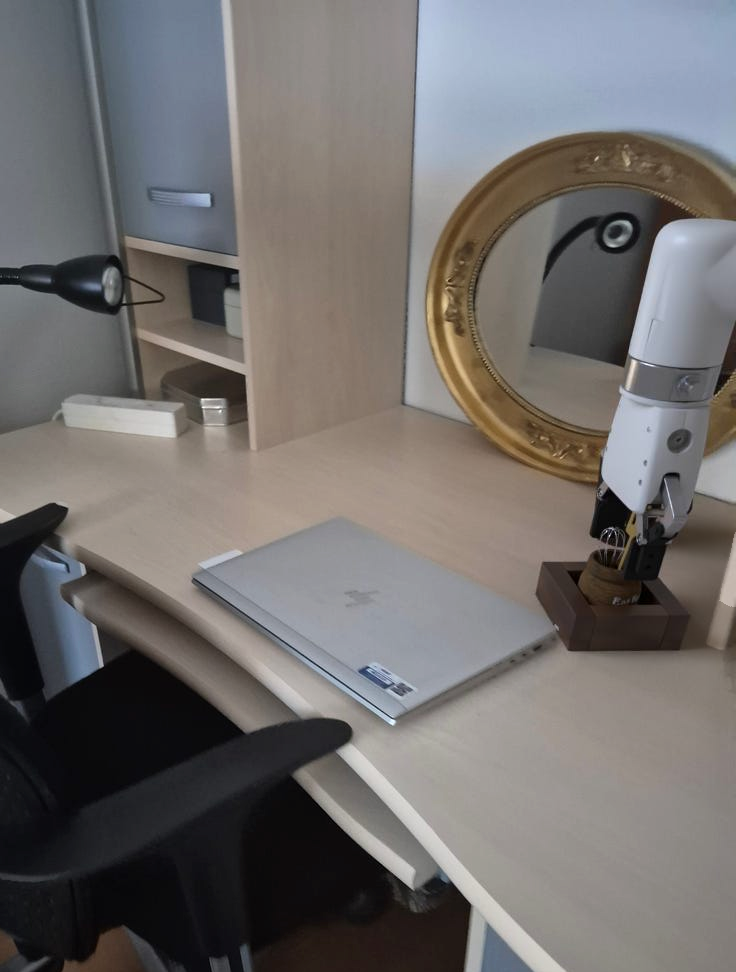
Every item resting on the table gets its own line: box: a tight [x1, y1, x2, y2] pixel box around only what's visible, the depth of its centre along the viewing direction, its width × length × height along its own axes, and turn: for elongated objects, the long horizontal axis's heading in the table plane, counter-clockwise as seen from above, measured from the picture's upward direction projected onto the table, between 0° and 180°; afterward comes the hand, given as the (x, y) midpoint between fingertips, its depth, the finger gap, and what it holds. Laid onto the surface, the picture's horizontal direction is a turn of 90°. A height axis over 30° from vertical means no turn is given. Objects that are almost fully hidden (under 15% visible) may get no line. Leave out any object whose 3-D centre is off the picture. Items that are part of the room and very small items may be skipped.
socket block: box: [534, 561, 691, 651], centre depth 85 cm, size 11×11×4 cm
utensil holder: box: [577, 505, 651, 605], centre depth 83 cm, size 6×6×12 cm
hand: (621, 556), depth 82 cm, fingers open, 8 cm apart
